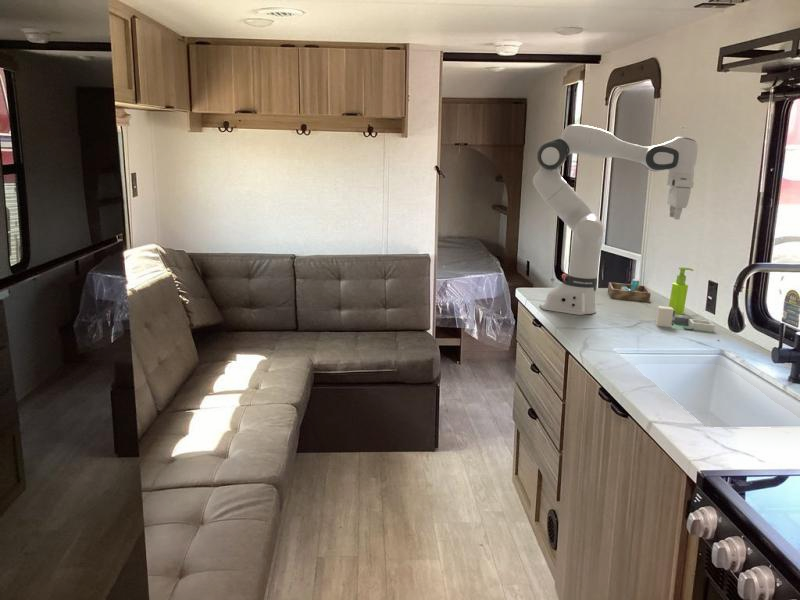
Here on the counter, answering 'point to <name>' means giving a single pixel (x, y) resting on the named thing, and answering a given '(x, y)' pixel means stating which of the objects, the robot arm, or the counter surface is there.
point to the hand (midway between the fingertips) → (674, 218)
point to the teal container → (632, 286)
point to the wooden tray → (628, 292)
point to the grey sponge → (680, 319)
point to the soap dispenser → (679, 292)
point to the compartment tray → (696, 326)
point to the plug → (664, 316)
